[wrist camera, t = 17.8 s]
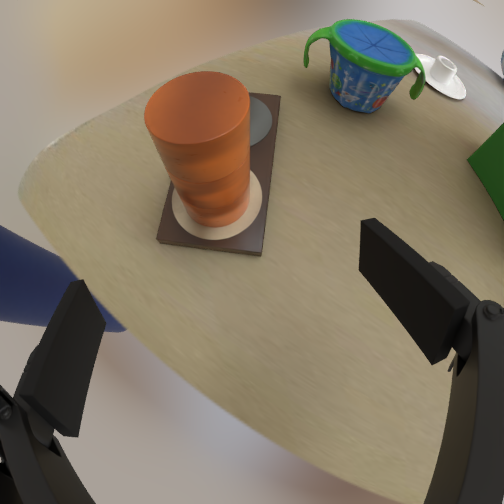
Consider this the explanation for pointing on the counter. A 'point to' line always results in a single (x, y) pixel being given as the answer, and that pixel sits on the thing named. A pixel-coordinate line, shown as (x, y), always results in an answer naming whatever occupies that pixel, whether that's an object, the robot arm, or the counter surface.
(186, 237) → the board
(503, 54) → the chinaware
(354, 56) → the snack cup
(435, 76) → the candle holder
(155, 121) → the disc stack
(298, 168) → the counter surface
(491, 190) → the hardback book
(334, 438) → the counter surface
